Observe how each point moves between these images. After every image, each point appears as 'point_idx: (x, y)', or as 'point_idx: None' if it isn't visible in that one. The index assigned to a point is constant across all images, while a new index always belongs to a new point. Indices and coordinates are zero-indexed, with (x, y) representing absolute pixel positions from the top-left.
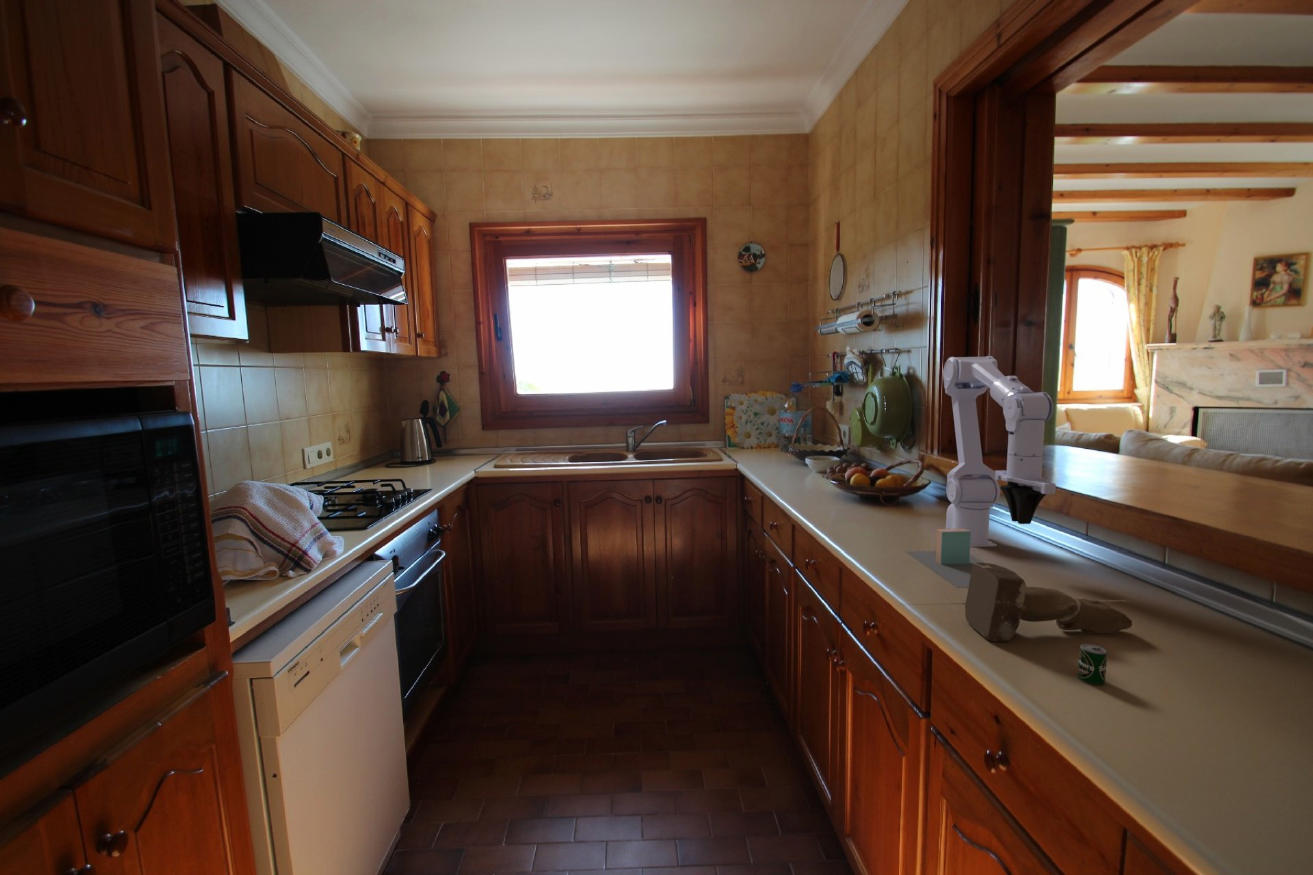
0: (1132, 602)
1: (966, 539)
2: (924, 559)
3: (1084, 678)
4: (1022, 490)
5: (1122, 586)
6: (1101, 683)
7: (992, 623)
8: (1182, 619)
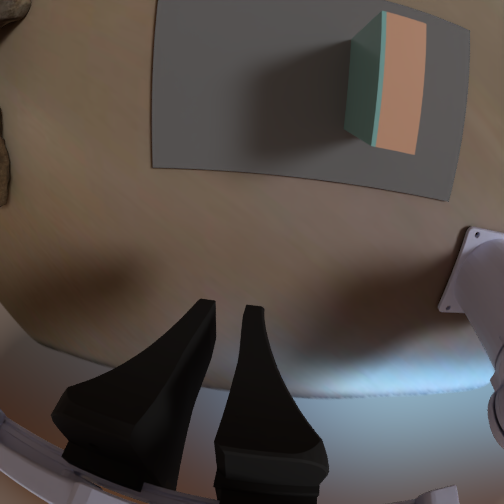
0: (101, 302)
1: (364, 123)
2: None
3: None
4: (56, 421)
5: None
6: None
7: None
8: (59, 306)
